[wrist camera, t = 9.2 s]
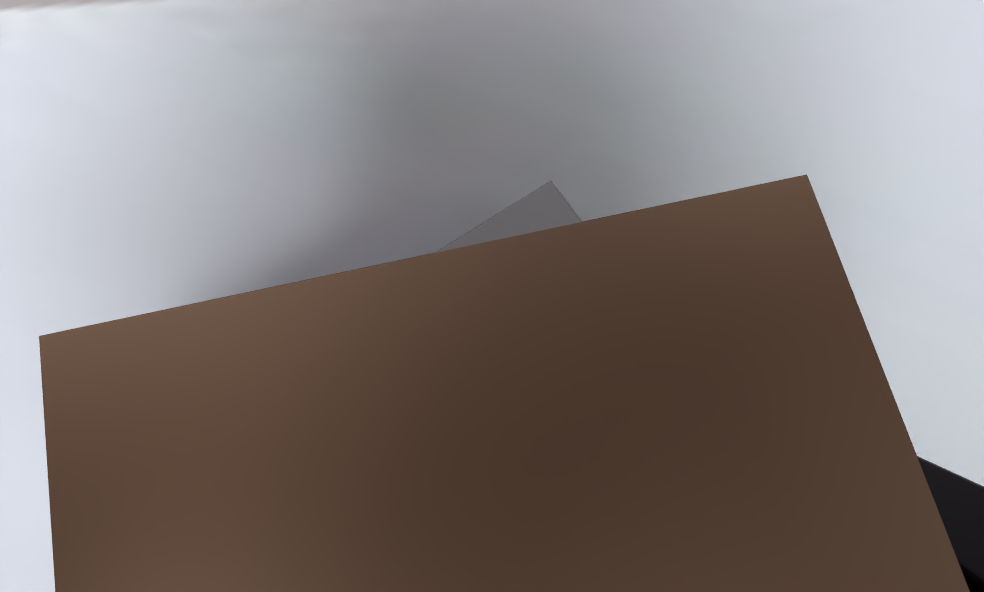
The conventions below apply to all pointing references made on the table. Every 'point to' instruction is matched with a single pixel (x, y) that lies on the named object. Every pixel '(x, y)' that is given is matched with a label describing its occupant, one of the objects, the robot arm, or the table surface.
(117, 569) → the walnut pillar
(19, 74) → the table surface
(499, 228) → the slate slab
